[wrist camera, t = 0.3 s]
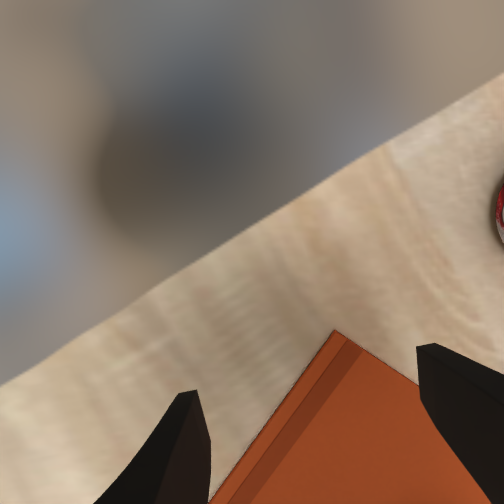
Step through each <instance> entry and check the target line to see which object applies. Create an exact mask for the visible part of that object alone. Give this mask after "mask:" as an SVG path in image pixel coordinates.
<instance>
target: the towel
mask: <svg viewBox="0 0 504 504" xmlns="http://www.w3.org/2000/svg"><path fill="white" fill-rule="evenodd" d="M208 504H491V502H490V501H489V499H488V498H487V496H486V495H485V494H484V492H483V491H482V490H481V488H480V487H479V486H478V484H477V483H476V482H475V480H474V479H473V477H472V476H471V475H470V473H469V472H468V471H467V469H466V468H465V467H464V465H463V464H462V463H461V461H460V460H459V459H458V457H457V456H456V455H455V453H454V452H453V451H452V449H451V448H450V447H449V445H448V444H447V442H446V441H445V440H444V438H443V437H442V436H441V434H440V433H439V431H438V430H437V429H436V427H435V425H434V424H433V422H432V420H431V418H430V417H429V415H428V413H427V411H426V410H425V408H424V406H423V404H422V402H421V400H420V392H419V386H418V385H416V384H415V383H413V382H412V381H410V380H409V379H407V378H406V377H404V376H403V375H401V374H400V373H398V372H397V371H395V370H394V369H392V368H391V367H390V366H388V365H387V364H385V363H384V362H382V361H381V360H379V359H378V358H376V357H375V356H373V355H372V354H370V353H369V352H367V351H366V350H364V349H363V348H361V347H360V346H358V345H357V344H355V343H354V342H352V341H351V340H349V339H348V338H346V337H345V336H343V335H342V334H340V333H339V332H337V331H336V330H334V332H333V333H332V334H331V336H330V337H329V339H328V340H327V341H326V343H325V344H324V345H323V347H322V348H321V350H320V351H319V352H318V354H317V355H316V356H315V358H314V359H313V360H312V362H311V363H310V365H309V366H308V367H307V369H306V370H305V371H304V373H303V374H302V376H301V377H300V378H299V380H298V381H297V382H296V384H295V385H294V387H293V388H292V389H291V391H290V392H289V393H288V395H287V396H286V398H285V399H284V400H283V402H282V403H281V404H280V406H279V407H278V409H277V410H276V411H275V413H274V414H273V415H272V417H271V418H270V420H269V421H268V422H267V424H266V425H265V426H264V428H263V429H262V431H261V432H260V433H259V435H258V436H257V437H256V439H255V440H254V442H253V443H252V444H251V446H250V447H249V448H248V450H247V451H246V453H245V454H244V455H243V457H242V458H241V459H240V461H239V462H238V464H237V465H236V466H235V468H234V469H233V470H232V472H231V473H230V475H229V476H228V477H227V479H226V480H225V481H224V483H223V484H222V486H221V487H220V488H219V490H218V491H217V492H216V494H215V495H214V497H213V498H212V499H211V501H210V502H209V503H208Z"/></svg>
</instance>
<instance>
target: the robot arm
mask: <svg viewBox="0 0 504 504" xmlns="http://www.w3.org/2000/svg"><path fill="white" fill-rule="evenodd" d="M416 351H417V365H418V378H419V392H420V400H421V402H422V404H423V406H424V408H425V410H426V411H427V413H428V415H429V417H430V418H431V420H432V422H433V424H434V425H435V427H436V429H437V430H438V431H439V433H440V434H441V436H442V437H443V438H444V440H445V441H446V442H447V444H448V445H449V447H450V448H451V449H452V451H453V452H454V453H455V455H456V456H457V457H458V459H459V460H460V461H461V463H462V464H463V465H464V467H465V468H466V469H467V471H468V472H469V473H470V475H471V476H472V477H473V479H474V480H475V482H476V483H477V484H478V486H479V487H480V488H481V490H482V491H483V492H484V494H485V495H486V496H487V498H488V499H489V501H490V502H491V504H504V374H501V373H499V372H497V371H495V370H492V369H490V368H488V367H486V366H484V365H482V364H479V363H477V362H475V361H473V360H471V359H469V358H467V357H465V356H463V355H461V354H458V353H456V352H454V351H452V350H450V349H448V348H446V347H443V346H441V345H439V344H436V343H432V344H427V345H422V346H417V347H416ZM210 477H211V440H210V436H209V432H208V429H207V425H206V421H205V418H204V414H203V410H202V407H201V403H200V399H199V396H198V392H197V390H193V391H187V392H182V393H178V395H177V396H176V397H175V399H174V400H173V402H172V403H171V405H170V406H169V408H168V410H167V411H166V413H165V414H164V416H163V417H162V419H161V420H160V422H159V423H158V425H157V426H156V428H155V429H154V430H153V432H152V433H151V435H150V436H149V438H148V439H147V441H146V442H145V443H144V445H143V446H142V447H141V449H140V450H139V451H138V453H137V454H136V455H135V457H134V458H133V459H132V461H131V462H130V463H129V464H128V466H127V467H126V468H125V469H124V471H123V472H122V473H121V474H120V475H119V476H118V478H117V479H116V480H115V481H114V482H113V483H112V484H111V485H110V487H109V488H108V489H107V490H106V491H105V492H104V493H103V494H102V495H101V496H100V497H99V498H98V500H97V501H96V502H94V503H93V504H208V496H209V486H210Z"/></svg>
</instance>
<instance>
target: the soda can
mask: <svg viewBox="0 0 504 504" xmlns="http://www.w3.org/2000/svg"><path fill="white" fill-rule="evenodd" d="M496 223H497V229H498V232H499V235H500V237H501V239H502V241H503V243H504V184H503V186H502V189H501V191H500V193H499V197H498V200H497V206H496Z"/></svg>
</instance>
